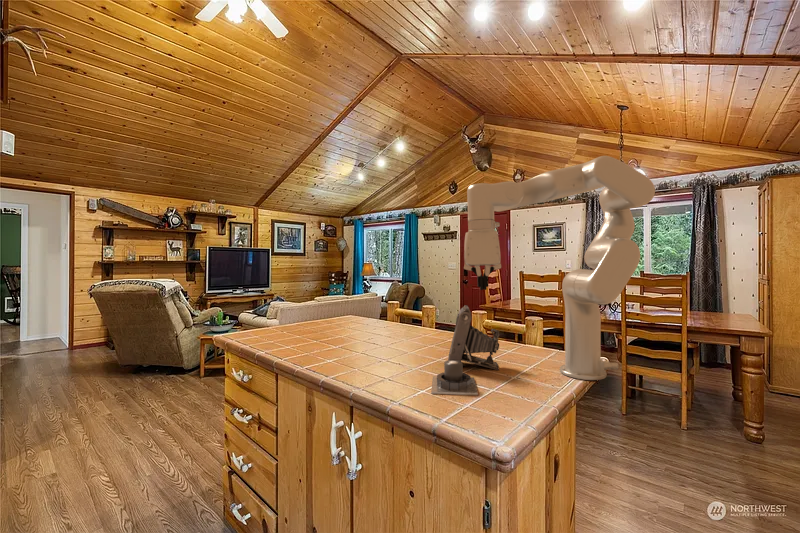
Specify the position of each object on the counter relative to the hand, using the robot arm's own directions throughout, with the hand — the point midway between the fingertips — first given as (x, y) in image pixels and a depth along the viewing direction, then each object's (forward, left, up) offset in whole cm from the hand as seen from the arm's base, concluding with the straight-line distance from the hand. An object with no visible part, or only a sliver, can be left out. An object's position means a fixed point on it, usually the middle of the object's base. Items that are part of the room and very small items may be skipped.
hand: (483, 289), depth 105 cm
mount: (+9, +8, -26) cm, 29 cm away
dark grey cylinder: (+9, +8, -26) cm, 28 cm away
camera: (+2, -12, -27) cm, 29 cm away
